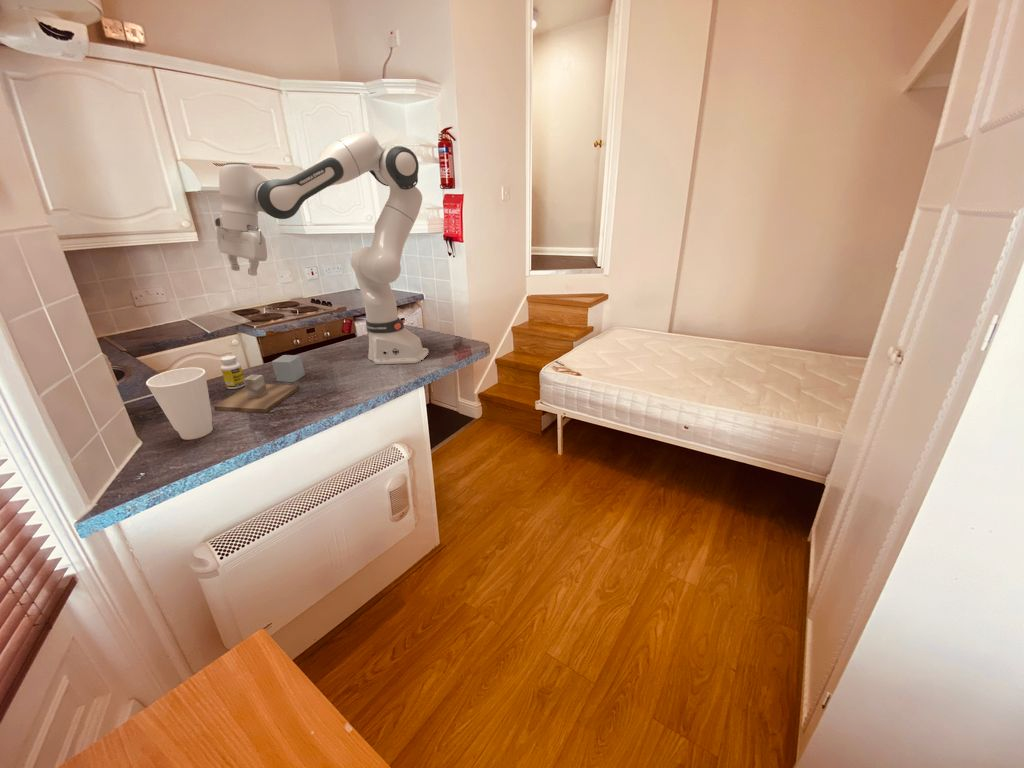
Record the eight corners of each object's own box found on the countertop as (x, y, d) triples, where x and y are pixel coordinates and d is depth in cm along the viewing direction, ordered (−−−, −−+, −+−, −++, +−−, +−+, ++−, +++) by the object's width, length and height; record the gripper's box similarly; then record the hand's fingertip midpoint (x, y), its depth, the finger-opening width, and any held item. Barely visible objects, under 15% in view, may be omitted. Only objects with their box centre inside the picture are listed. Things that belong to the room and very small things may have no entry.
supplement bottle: (237, 390, 134) (228, 361, 130) (222, 388, 135) (213, 360, 131) (250, 383, 139) (242, 355, 135) (236, 382, 140) (227, 354, 136)
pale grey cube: (305, 374, 144) (300, 355, 142) (294, 382, 139) (289, 362, 136) (288, 374, 145) (283, 354, 142) (276, 381, 140) (271, 361, 137)
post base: (299, 389, 134) (294, 368, 131) (266, 412, 119) (259, 389, 116) (253, 386, 136) (247, 366, 133) (215, 409, 121) (207, 387, 118)
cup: (169, 430, 111) (147, 374, 105) (222, 417, 118) (204, 363, 111) (168, 450, 102) (143, 390, 96) (225, 435, 109) (205, 378, 102)
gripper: (272, 228, 120) (274, 278, 124) (233, 221, 129) (237, 268, 134) (248, 226, 115) (252, 278, 119) (210, 219, 124) (215, 267, 129)
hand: (243, 272), depth 126 cm, fingers open, 8 cm apart
